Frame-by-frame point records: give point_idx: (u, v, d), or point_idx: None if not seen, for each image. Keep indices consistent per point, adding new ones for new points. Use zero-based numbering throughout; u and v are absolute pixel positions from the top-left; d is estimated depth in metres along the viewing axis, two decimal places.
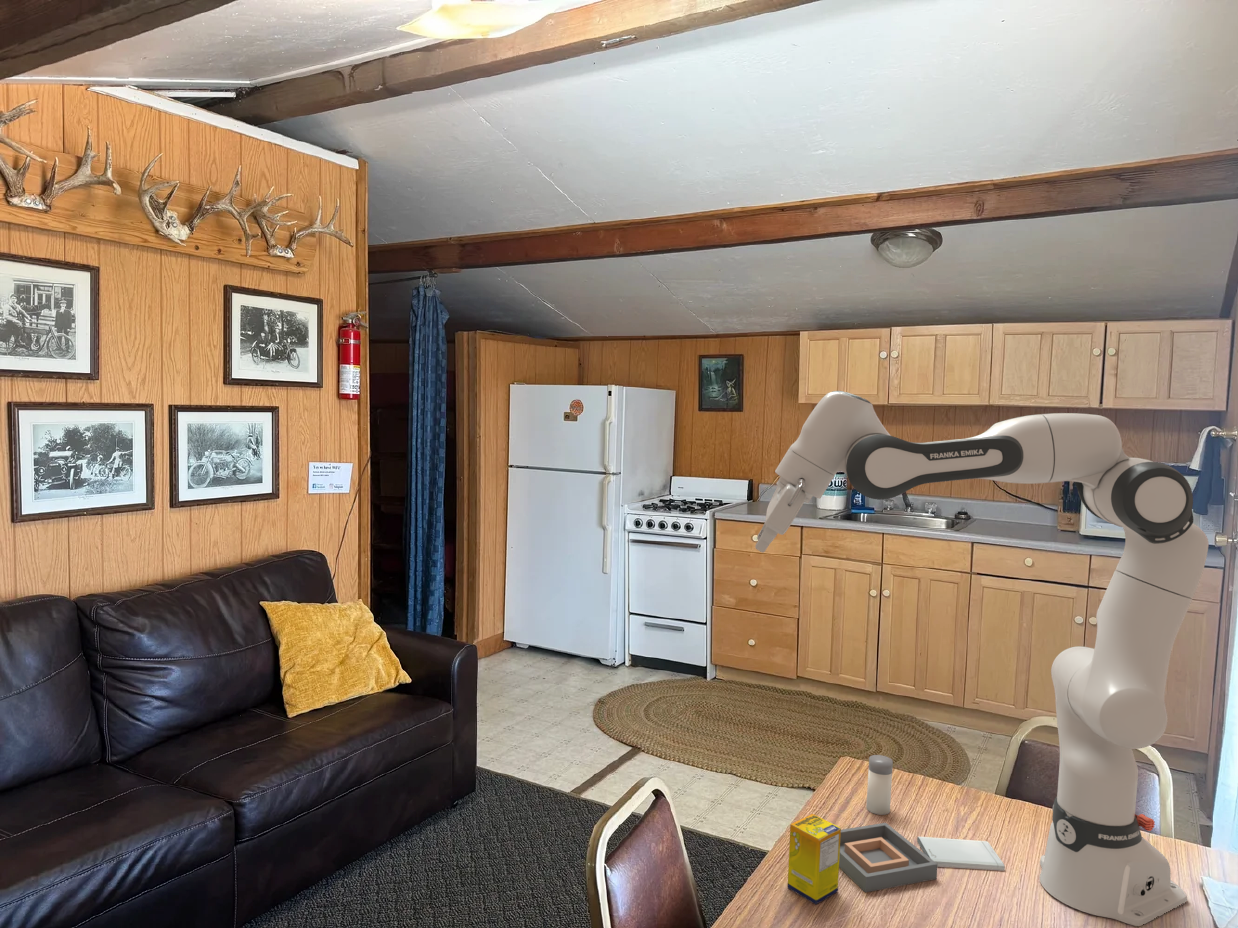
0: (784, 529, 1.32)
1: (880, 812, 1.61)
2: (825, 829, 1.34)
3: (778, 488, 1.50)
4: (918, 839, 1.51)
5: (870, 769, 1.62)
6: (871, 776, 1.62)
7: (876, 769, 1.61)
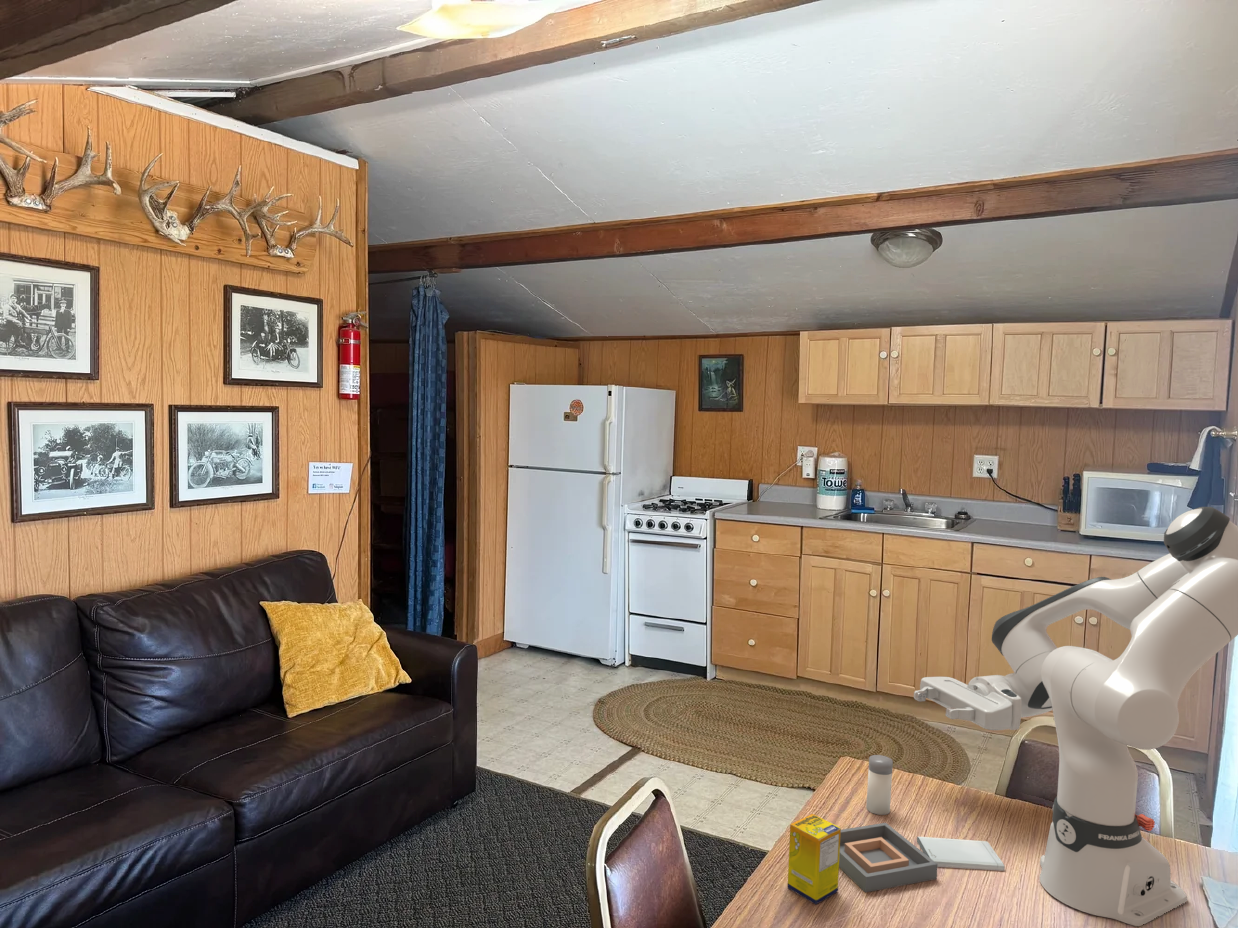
0: None
1: (880, 812, 1.61)
2: (824, 829, 1.34)
3: None
4: (918, 839, 1.51)
5: (870, 769, 1.62)
6: (871, 776, 1.62)
7: (876, 769, 1.61)
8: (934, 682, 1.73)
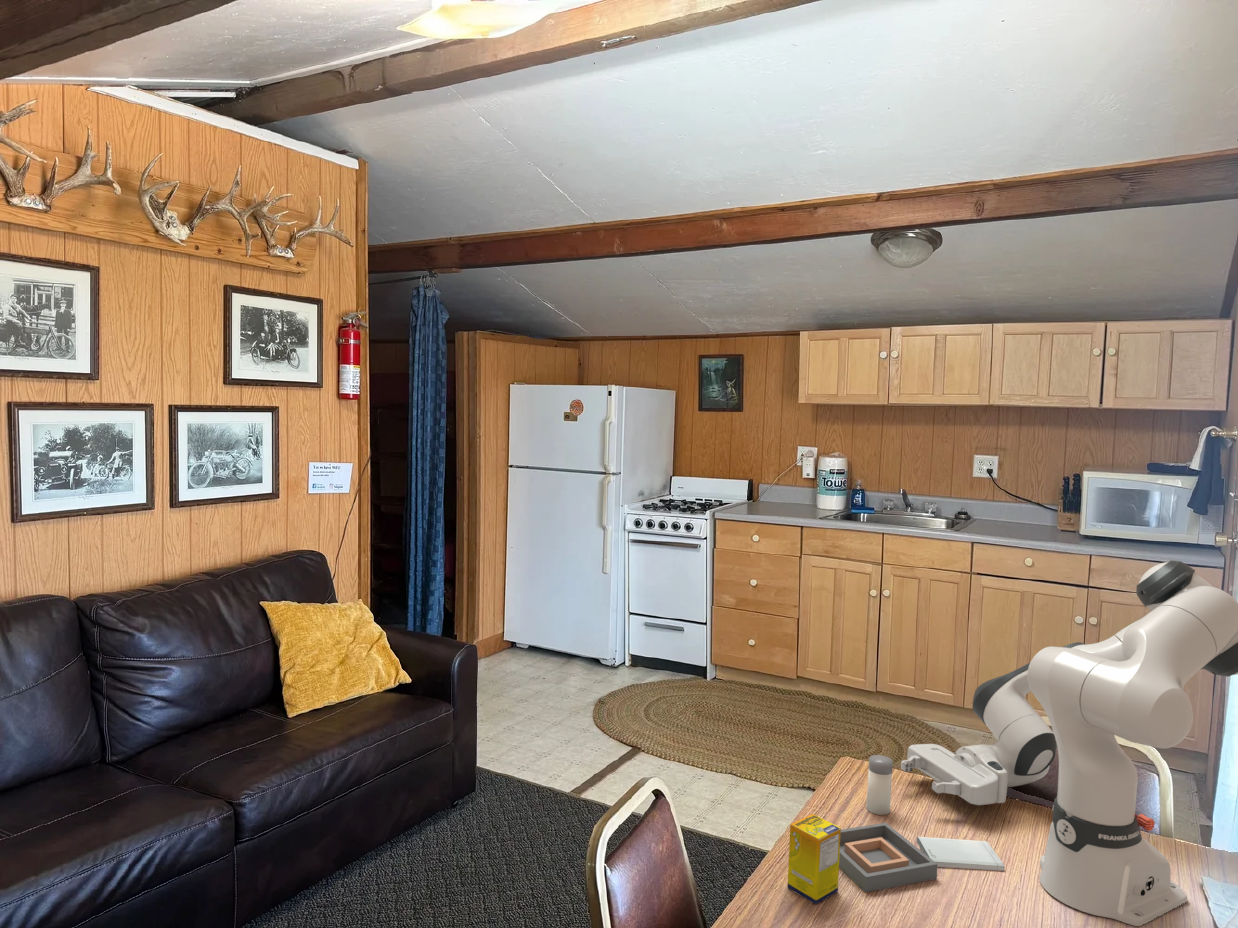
0: (910, 746, 1.77)
1: (880, 812, 1.61)
2: (825, 829, 1.34)
3: None
4: (918, 839, 1.51)
5: (870, 769, 1.62)
6: (871, 776, 1.62)
7: (876, 769, 1.61)
8: (922, 751, 1.73)
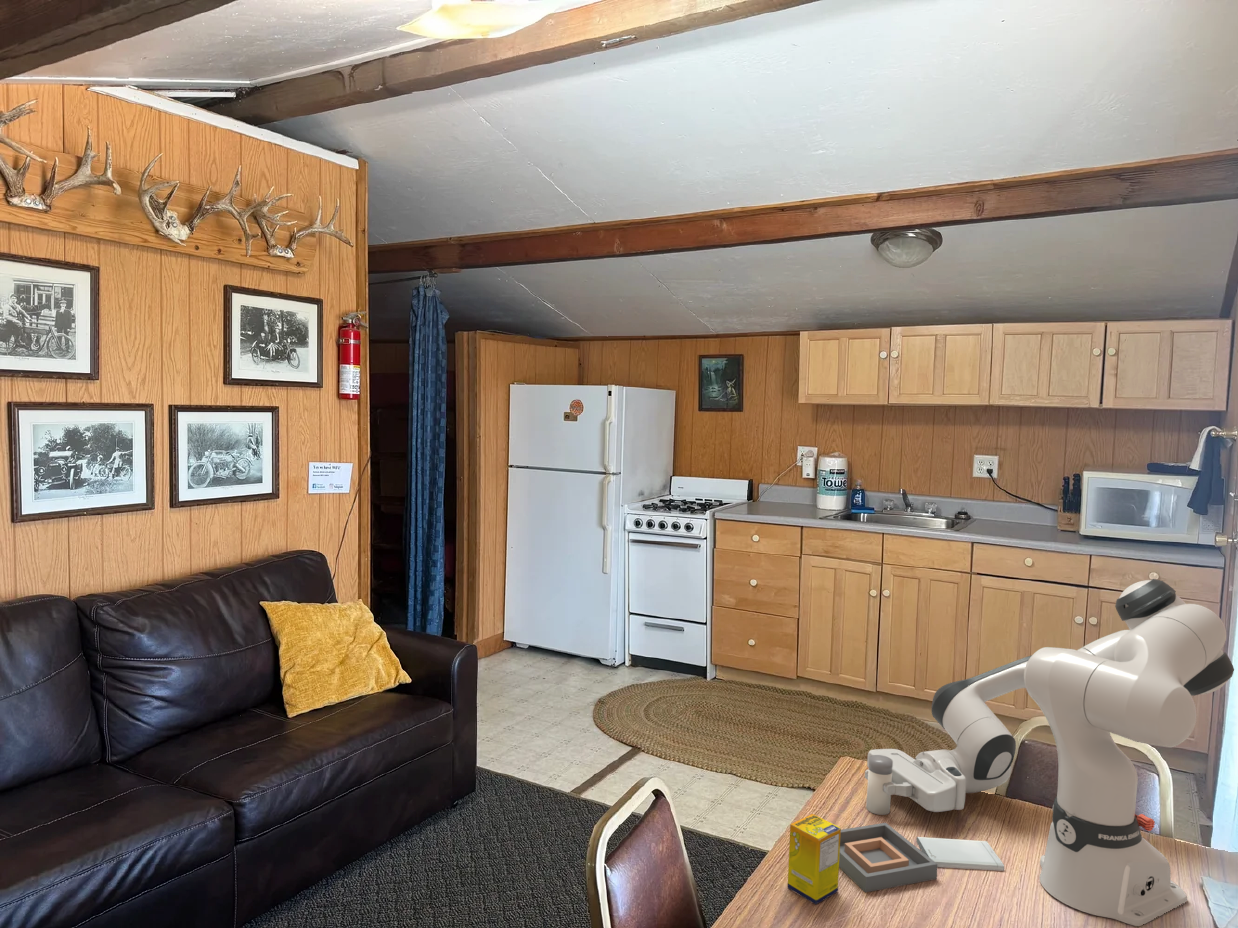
0: (870, 751, 1.74)
1: (880, 812, 1.61)
2: (824, 829, 1.34)
3: None
4: (917, 839, 1.51)
5: (870, 769, 1.62)
6: (871, 776, 1.62)
7: (876, 769, 1.61)
8: None
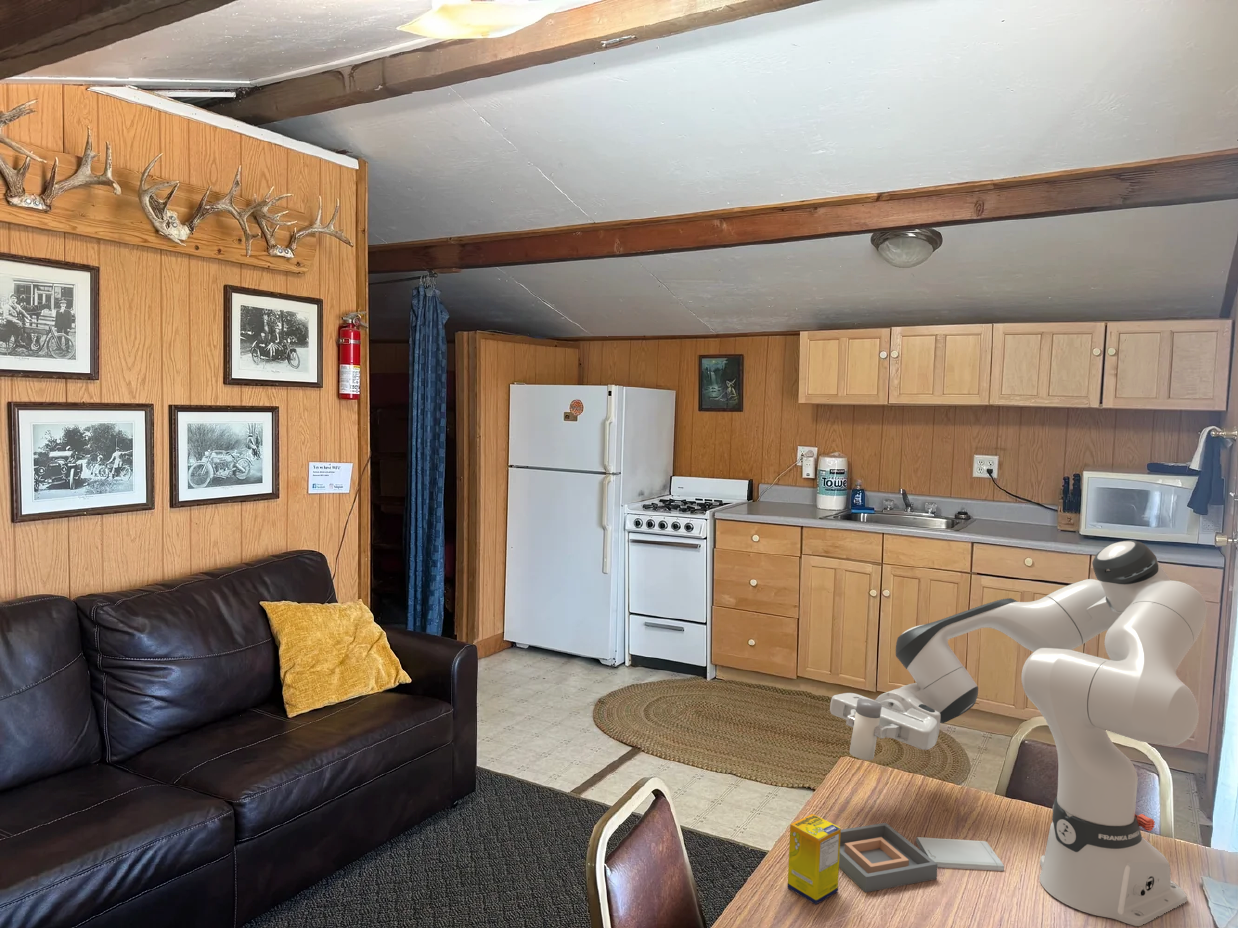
0: (832, 697, 1.67)
1: (869, 757, 1.55)
2: (824, 829, 1.34)
3: None
4: (917, 840, 1.51)
5: (861, 714, 1.55)
6: (862, 721, 1.54)
7: (869, 712, 1.54)
8: (849, 700, 1.64)
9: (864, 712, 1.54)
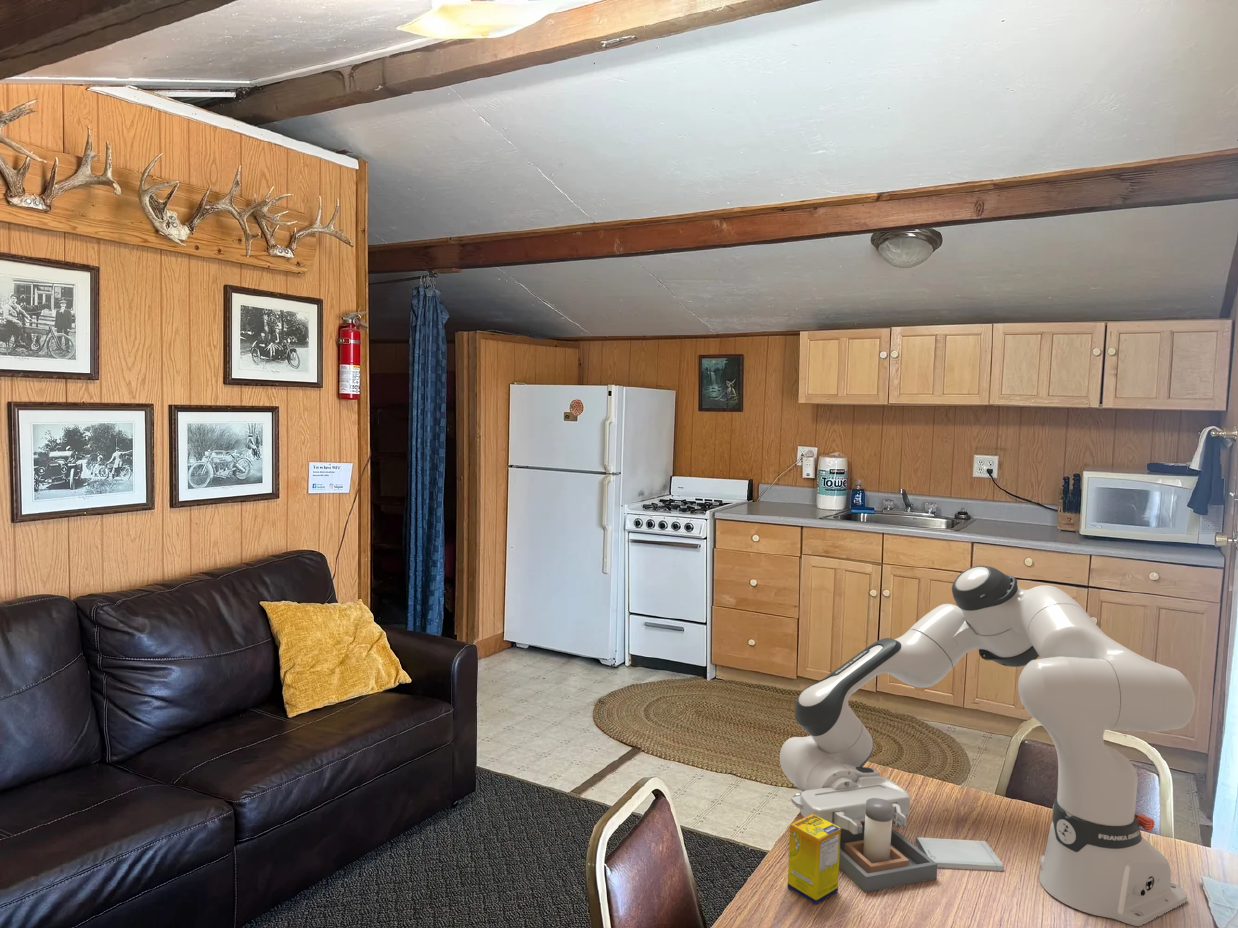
0: (812, 810, 1.45)
1: None
2: (824, 829, 1.34)
3: None
4: (917, 840, 1.51)
5: (885, 820, 1.41)
6: (887, 826, 1.42)
7: (891, 814, 1.42)
8: (829, 804, 1.46)
9: (888, 817, 1.41)
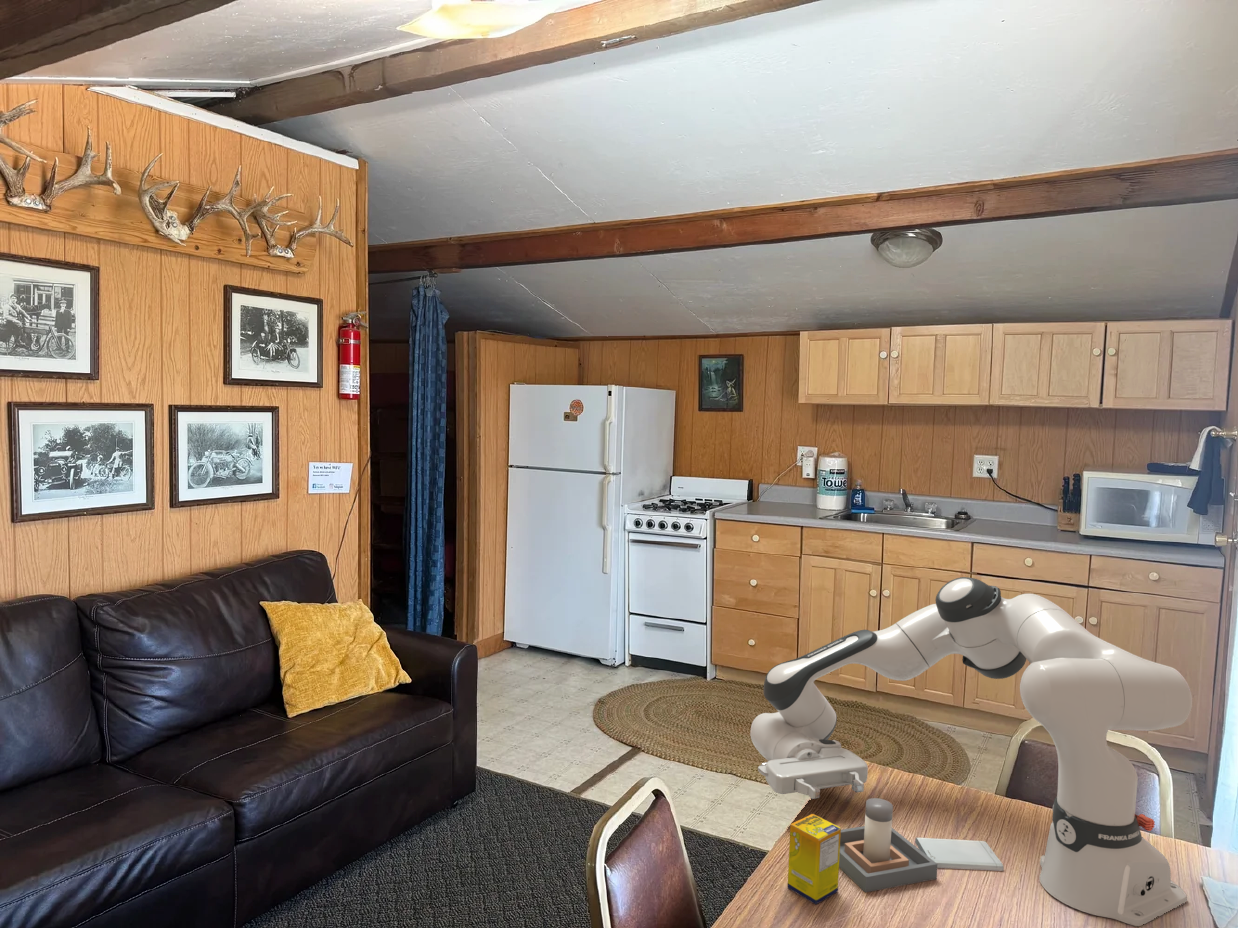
0: (775, 777, 1.57)
1: None
2: (825, 829, 1.34)
3: None
4: (916, 840, 1.51)
5: (885, 820, 1.41)
6: (887, 827, 1.42)
7: (891, 814, 1.42)
8: (792, 772, 1.58)
9: (888, 817, 1.41)
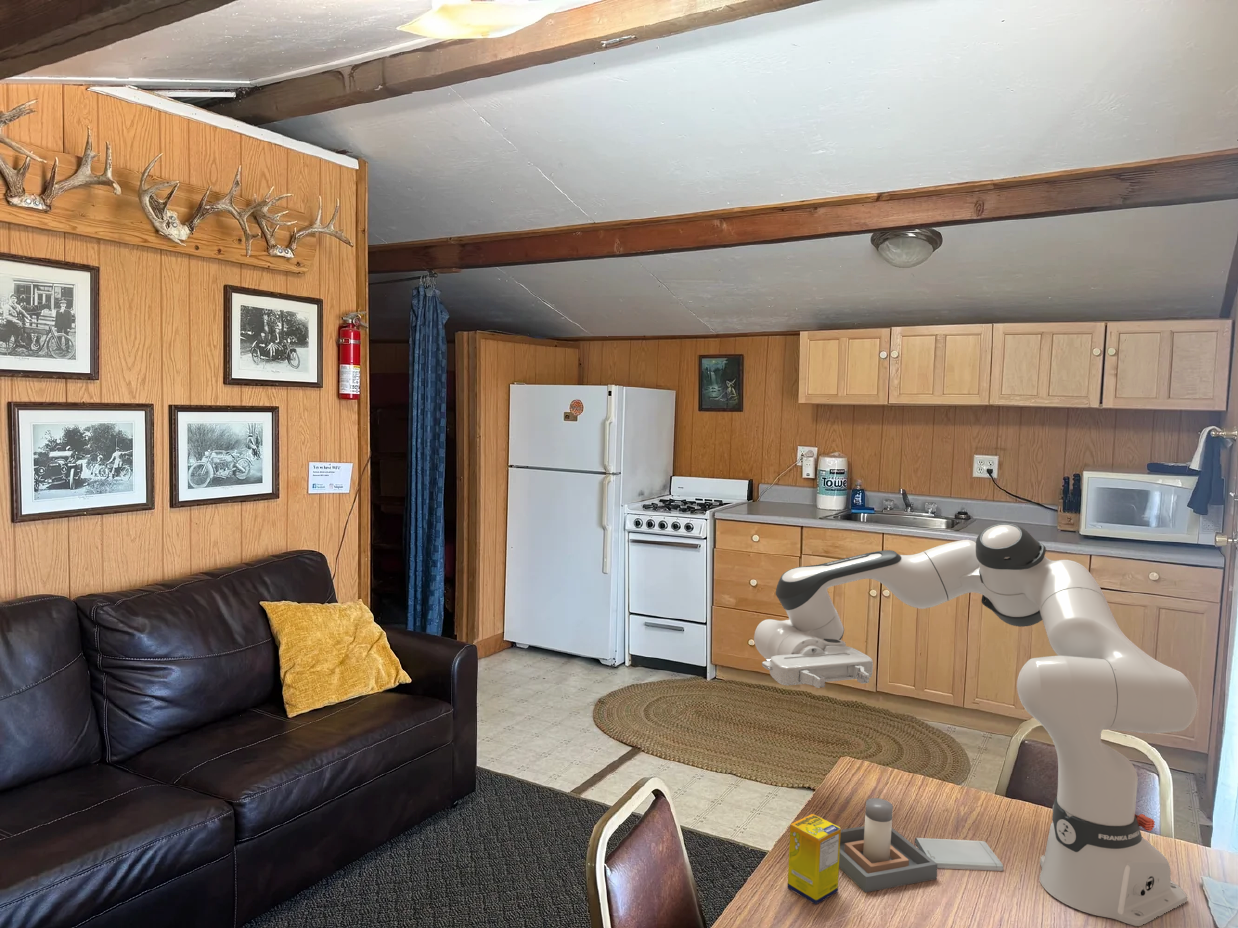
0: (780, 668, 1.55)
1: None
2: (825, 829, 1.34)
3: None
4: (916, 840, 1.51)
5: (885, 820, 1.41)
6: (887, 827, 1.42)
7: (891, 814, 1.42)
8: (796, 664, 1.57)
9: (888, 817, 1.41)
